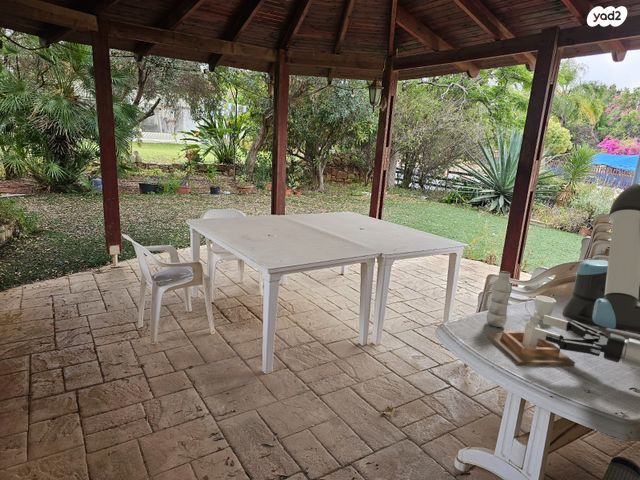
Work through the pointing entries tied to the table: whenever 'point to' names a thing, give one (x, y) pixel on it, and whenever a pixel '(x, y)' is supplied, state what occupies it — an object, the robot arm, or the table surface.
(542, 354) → the collar board
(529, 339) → the eye dropper bottle
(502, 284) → the plastic bottle
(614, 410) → the table surface
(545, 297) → the cup
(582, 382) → the table surface
